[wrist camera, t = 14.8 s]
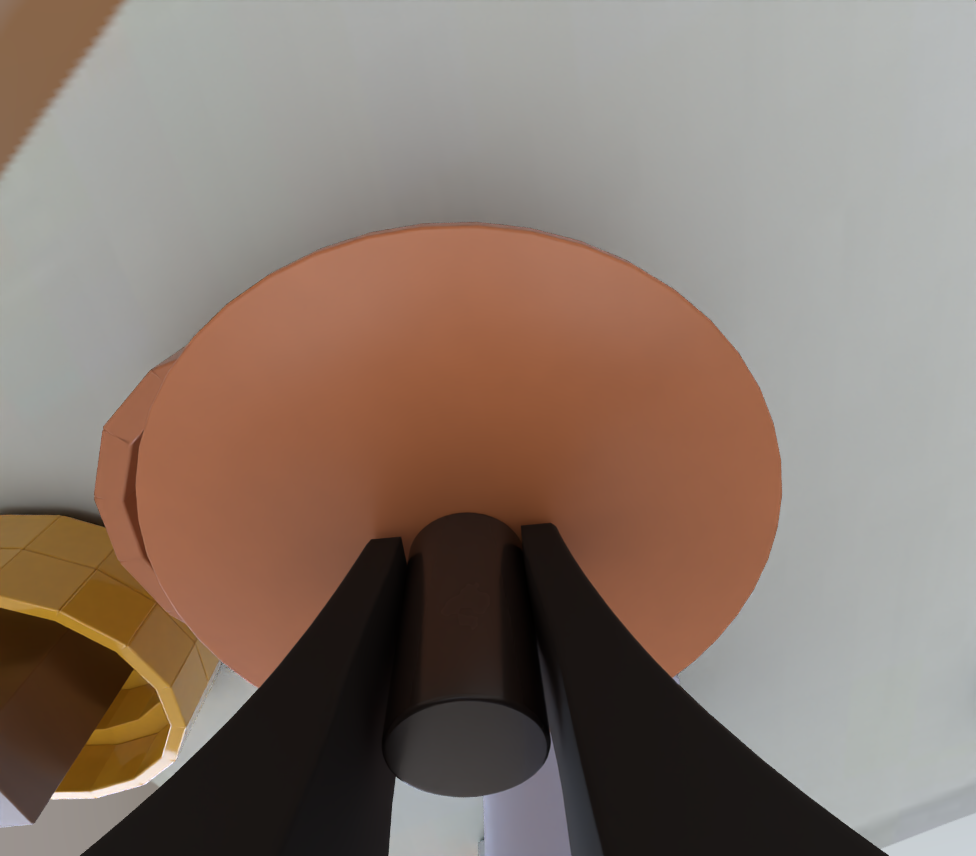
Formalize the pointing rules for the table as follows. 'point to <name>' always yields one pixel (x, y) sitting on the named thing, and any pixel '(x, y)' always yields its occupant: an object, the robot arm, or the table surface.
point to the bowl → (120, 627)
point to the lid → (458, 471)
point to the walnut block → (47, 707)
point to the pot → (129, 481)
